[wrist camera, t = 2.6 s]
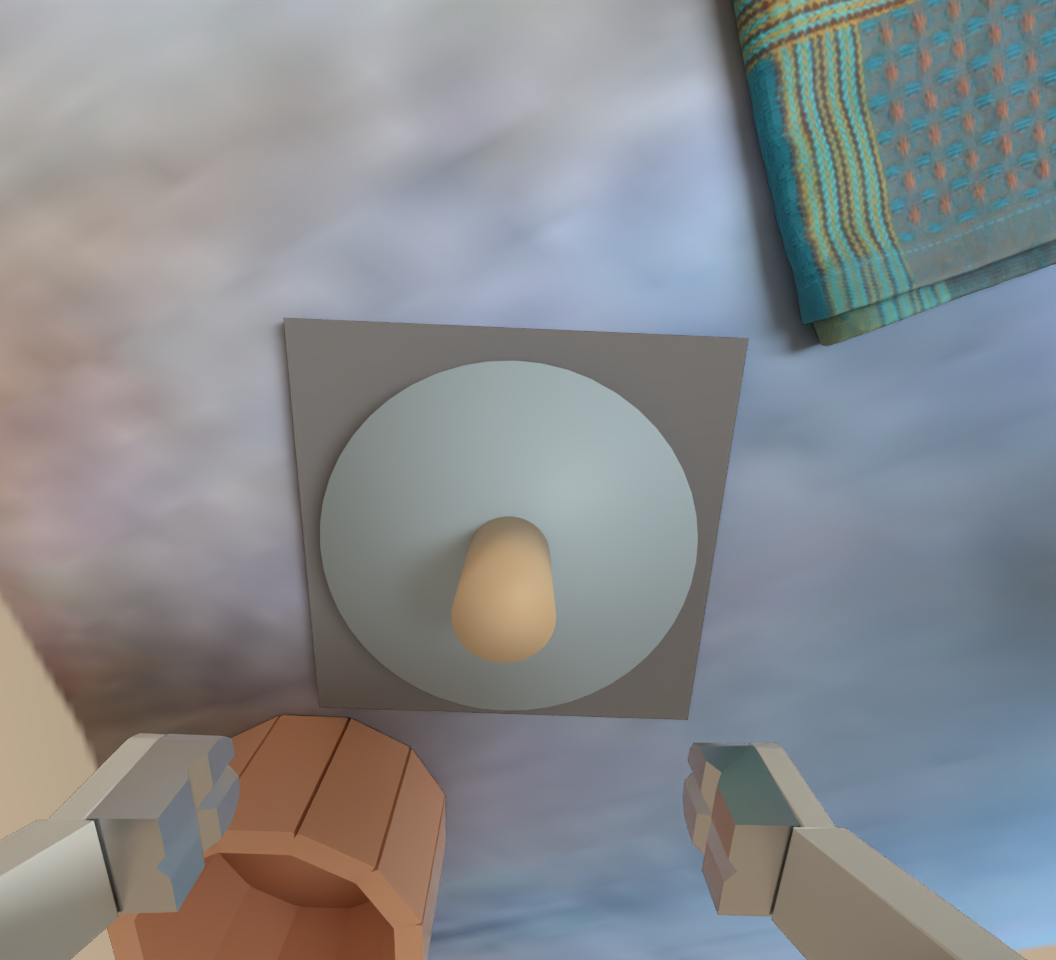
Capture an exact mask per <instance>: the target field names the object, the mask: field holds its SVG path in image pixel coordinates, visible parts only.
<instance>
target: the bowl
mask: <svg viewBox="0 0 1056 960" xmlns="http://www.w3.org/2000/svg"><path fill="white" fill-rule="evenodd" d="M232 741H233V746H234V751H235V755H234V756H233V758H232V759H231V761H230V762H229V764H228V765H229V766H230V767H231V768H232V769H233V770H234V771H235V772H236V773H237V774H238V777H239V784H240V790H239V800H238V804H237V807H236V810H235V813H234V816H233V819H232V821H231V823H230V825H229V827H228V828H227V830H226V832H225V834H224V835H223V837H222V839H220V840H219V841H218V842H216V843H215V844H214V845H213V846H211V847H210V848H209V849H207V850H206V851H205V852H204V862H205V867H204V869H203V871H202V872H201V874H200V875H199V877H198V879H197V880H196V882H195V884H194V885H193V887H192V889H191V890H190V892H189V894H188V895H187V897H186V899H185V900H184V902H183V904H182V905H181V907H180V909H179V910H178V912H165V913H131V914H118V918H117V919H116V920H115V921H114V922H113V923H112V924H111V925H109V926H108V927H107V930H108V934H109V937H110V941H111V945H112V948H113V952H114V955H115V959H116V960H427V957H428V951H429V945H430V939H431V933H432V927H433V920H434V914H435V908H436V902H437V896H438V889H439V883H440V877H441V871H442V865H443V859H444V852H445V846H446V796H445V793H444V792H443V791H442V789H441V788H440V787H439V785H438V784H437V782H436V781H435V780H434V778H433V777H432V776H431V774H430V773H429V771H428V770H427V769H426V767H425V766H424V765H423V763H422V762H421V760H420V759H419V758H418V756H417V755H416V754H415V752H414V751H413V749H411V750H409V748H410V747H409V746H407V745H405V744H403V743H401V742H399V741H397V740H395V739H392V738H390V737H388V736H386V735H384V734H382V733H380V732H378V731H376V730H374V729H372V728H370V727H368V726H366V725H364V724H362V723H360V722H358V721H356V720H354V719H352V718H351V720H350V721H349V723H348V717H320V716H291V715H281V717H279V716H277V717H275V718H273V719H270V720H268V721H266V722H264V723H262V724H260V725H258V726H256V727H253V728H251V729H249V730H247V731H245V732H243V733H241V734H238V735H236V736H234V737H232Z"/></svg>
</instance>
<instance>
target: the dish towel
mask: <svg viewBox="0 0 1056 960" xmlns="http://www.w3.org/2000/svg"><path fill="white" fill-rule="evenodd" d="M733 5H734V11H735V17H736V23H737V29H738V35H739V41H740V46H741V51H742V55H743V60H744V65H745V70H746V76H747V82H748V85H749V89H750V95H751V102H752V106H753V119H754V123H755V127H756V131H757V136H758V141H759V145H760V152H761V155H762V158H763V161H764V164H765V168H766V171H767V175H768V186H769V188H770V191H771V194H772V197H773V201H774V205H775V217H776V220H777V223H778V226H779V229H780V232H781V235H782V239H783V248H784V250H785V252H786V255H787V257H788V260H789V262H790V264H791V267H792V269H793V278H794V281H795V283H796V290H797V296H798V302H799V308H800V314H801V320H802V323H803V324H804V325H805V324H808V323H811V322H812V323H813V324H814V326H815V329H816V332H817V335H818V338H819V341H820V343H821V345H823V346H828V345H832V344H836V343H839V342H843V341H845V340H848V339H850V338H853V337H856V336H859V335H862V334H865V333H867V332H870V331H873V330H876V329H878V328H881V327H883V326H886V325H889V324H892V323H894V322H897V321H899V320H902V319H904V318H907V317H909V316H912V315H915V314H917V313H920V312H922V311H925V310H928V309H931V308H933V307H935V306H938V305H941V304H943V303H946V302H949V301H951V300H954V299H957V298H959V297H962V296H965V295H967V294H970V293H973V292H976V291H979V290H982V289H985V288H988V287H991V286H994V285H996V284H999V283H1001V282H1004V281H1007V280H1010V279H1013V278H1015V277H1019V276H1022V275H1025V274H1028V273H1030V272H1033V271H1036V270H1038V269H1041V268H1044V267H1047V266H1049V265H1052V264H1056V0H733Z"/></svg>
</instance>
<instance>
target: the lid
mask: <svg viewBox="0 0 1056 960" xmlns="http://www.w3.org/2000/svg"><path fill="white" fill-rule="evenodd" d="M697 545H698V532H697V516H696V511H695V506H694V502H693V497H692V492H691V490H690V487H689V484H688V481H687V479H686V476H685V473H684V471H683V469H682V467H681V465H680V463H679V461H678V459H677V457H676V456H675V454H674V452H673V450H672V448H671V447H670V446H669V444H668V443H667V442H666V440H665V439H664V437H663V436H662V435H661V433H660V432H659V431H658V429H657V428H656V427H655V426H654V425H653V424H652V423H651V422H650V421H649V420H648V419H647V418H646V417H645V416H644V415H643V414H642V413H641V412H640V411H639V410H638V409H637V408H635V407H634V406H633V405H631V404H630V403H629V402H628V401H626V400H625V399H624V398H622V397H621V396H620V395H618V394H617V393H615V392H614V391H612V390H610V389H608V388H607V387H605V386H603V385H601V384H600V383H598V382H596V381H594V380H592V379H591V378H588V377H586V376H583V375H581V374H578V373H576V372H573V371H571V370H568V369H565V368H561V367H557V366H553V365H549V364H545V363H539V362H530V361H521V360H495V361H485V362H479V363H473V364H466V365H462V366H459V367H456V368H453V369H449V370H446V371H443V372H440V373H437V374H434V375H432V376H430V377H428V378H426V379H424V380H421V381H419V382H417V383H415V384H413V385H411V386H409V387H408V388H406V389H404V390H403V391H401V392H400V393H398V394H397V395H395V396H394V397H392V398H390V399H389V400H388V401H387V402H385V403H384V404H383V405H382V406H381V407H380V408H379V409H377V410H376V411H375V412H374V413H373V414H372V415H370V416H369V417H368V419H367V420H366V421H365V422H364V423H363V424H362V425H361V427H360V428H359V429H358V430H357V431H356V432H355V434H354V435H353V436H352V438H351V439H350V441H349V442H348V444H347V445H346V447H345V448H344V450H343V452H342V453H341V455H340V456H339V459H338V461H337V463H336V465H335V467H334V470H333V472H332V474H331V476H330V479H329V482H328V486H327V489H326V493H325V496H324V500H323V505H322V513H321V520H320V549H321V556H322V562H323V569H324V573H325V576H326V579H327V583H328V586H329V589H330V592H331V594H332V597H333V599H334V601H335V603H336V606H337V608H338V610H339V612H340V614H341V615H342V617H343V619H344V620H345V622H346V623H347V625H348V627H349V628H350V630H351V631H352V633H353V634H354V635H355V636H356V637H357V639H358V640H359V641H360V642H361V644H362V645H363V646H364V647H365V648H366V649H367V650H368V651H369V652H370V653H371V654H372V655H373V656H374V657H375V658H376V659H377V660H378V661H379V662H380V663H381V664H382V665H384V666H385V667H386V668H388V669H389V670H390V671H392V672H393V673H394V674H396V675H397V676H398V677H400V678H401V679H403V680H405V681H407V682H408V683H410V684H412V685H413V686H415V687H417V688H418V689H421V690H423V691H425V692H427V693H430V694H432V695H434V696H436V697H439V698H442V699H445V700H448V701H451V702H455V703H458V704H461V705H466V706H471V707H476V708H481V709H492V710H530V709H538V708H546V707H551V706H555V705H559V704H563V703H567V702H571V701H573V700H576V699H579V698H582V697H584V696H587V695H590V694H592V693H594V692H596V691H598V690H600V689H602V688H604V687H606V686H608V685H610V684H611V683H613V682H615V681H616V680H618V679H619V678H621V677H622V676H624V675H625V674H627V673H628V672H629V671H631V670H632V669H633V668H634V667H635V666H637V665H638V664H639V663H640V662H641V661H643V660H644V659H645V658H646V657H647V656H648V655H649V654H650V653H651V651H652V650H653V649H654V648H655V647H656V646H657V645H658V644H659V643H660V642H661V640H662V639H663V637H664V636H665V635H666V633H667V632H668V630H669V629H670V628H671V626H672V625H673V623H674V621H675V620H676V618H677V616H678V614H679V612H680V610H681V608H682V606H683V605H684V602H685V599H686V596H687V594H688V591H689V588H690V586H691V583H692V578H693V574H694V569H695V565H696V557H697Z"/></svg>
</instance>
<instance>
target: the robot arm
mask: <svg viewBox="0 0 1056 960" xmlns="http://www.w3.org/2000/svg"><path fill="white" fill-rule="evenodd" d="M234 755H235V751H234V746H233V741H232V738H229V737H226V736H214V735H190V734H150V733H139V734H137V735H134V736H132V737H130V738H128V739H127V740H126V741H125V742H124V743H123V744H122V745H121V746H120V747H119V748H118V749H117V750H116V751H115V752H114V753H113V754H112V755H111V756H110V757H109V758H108V759H107V760H106V761H105V762H104V763H103V764H102V765H101V766H100V767H99V768H98V769H97V770H96V771H95V772H94V773H93V774H92V775H91V777H89V779H87V780H86V781H85V782H84V783H83V784H82V786H80V787H79V788H78V790H77V791H75V792H74V794H73V795H72V796H71V797H70V798H69V799H68V800H67V801H66V802H65V803H64V804H63V805H62V806H61V807H60V808H59V809H58V810H57V811H56V812H55V813H54V814H53V815H52V816H51V817H50V818H49V819H48V820H36V821H34V822H32V823H30V824H29V825H27V826H25V827H23V828H21V829H20V830H18V831H16V832H14V833H13V834H11V835H9V836H7V837H6V838H3V839H1V840H0V960H70V959H71V958H73V957H74V956H75V955H76V954H77V953H78V952H80V951H81V950H82V949H83V948H84V947H85V946H86V945H87V944H88V943H90V942H91V941H92V940H93V939H94V938H95V937H97V936H98V935H99V934H100V933H101V932H102V931H104V930H105V929H106V928H107V927H108V926H109V925H111V924H112V923H113V922H114V921H115V920H116V919H117V918H118V914H131V913H165V912H178V910H179V909H180V907H181V905H182V904H183V902H184V900H185V899H186V897H187V895H188V894H189V892H190V890H191V889H192V887H193V885H194V884H195V882H196V880H197V879H198V877H199V875H200V874H201V872H202V871H203V869H204V867H205V862H204V852H205V851H206V850H207V849H209V848H210V847H211V846H213V845H214V844H215V843H216V842H218V841H219V840H220V839H222V837H223V835H224V834H225V832H226V830H227V828H228V827H229V825H230V823H231V821H232V819H233V816H234V813H235V810H236V807H237V804H238V800H239V790H240V784H239V777H238V774H237V773H236V772H235V771H234V770H233V769H232V768H231V767H230V766H229V765H228V764H229V762H230V761H231V759H232V758H233V756H234ZM688 762H689V765H690V767H691V770H692V772H693V773H692V774H691V775H690V776H689V777H688V778H687V779H686V780H685V782H684V790H683V805H684V815H685V820H686V824H687V828H688V831H689V834H690V837H691V840H692V843H693V844H694V845H695V846H696V847H697V848H698V849H699V850H700V851H701V852H702V853H703V854H704V861H703V867H702V872H703V874H704V877H705V880H706V883H707V886H708V888H709V891H710V894H711V897H712V899H713V902H714V905H715V908H716V911H717V913H718V915H744V916H771V917H772V921H773V922H774V923H775V924H776V925H777V927H778V928H779V929H780V930H781V931H782V932H783V933H784V935H785V936H786V937H787V938H788V939H789V940H790V941H791V943H792V944H793V945H794V946H795V947H796V948H797V949H798V950H799V952H800V953H801V954H802V955H803V956H804V957H805V958H806V960H1027V959H1025V958H1024V957H1022V956H1021V955H1020V954H1018V953H1017V952H1016V951H1014V950H1013V949H1011V948H1010V947H1009V946H1007V945H1006V944H1005V943H1003V942H1002V941H1000V940H999V939H998V938H996V937H995V936H994V935H992V934H991V933H989V932H988V931H987V930H985V929H984V928H983V927H981V926H980V925H978V924H977V923H976V922H974V921H973V920H971V919H970V918H969V917H967V916H966V915H965V914H963V913H962V912H960V911H959V910H958V909H956V908H955V907H954V906H952V905H951V904H949V903H948V902H947V901H945V900H944V899H943V898H941V897H940V896H938V895H937V894H936V893H934V892H933V891H932V890H930V889H929V888H927V887H926V886H925V885H923V884H922V883H921V882H919V881H918V880H916V879H915V878H914V877H912V876H911V875H909V874H908V873H907V872H905V871H904V870H903V869H901V868H900V867H898V866H897V865H896V864H894V863H893V862H892V861H890V860H889V859H887V858H886V857H885V856H883V855H882V854H881V853H879V852H878V851H876V850H875V849H874V848H872V847H871V846H869V845H868V844H867V843H865V842H864V841H863V840H861V839H860V838H858V837H857V836H856V835H854V834H853V833H852V832H850V831H849V830H847V829H846V828H836V827H835V825H834V824H833V822H832V821H831V819H830V818H829V816H828V815H827V813H826V812H825V810H824V809H823V807H822V806H821V804H820V803H819V801H818V800H817V798H816V797H815V795H814V794H813V792H812V791H811V789H810V788H809V786H808V785H807V783H806V782H805V780H804V779H803V777H802V776H801V774H800V773H799V771H798V770H797V768H796V767H795V765H794V764H793V762H792V761H791V759H790V758H789V756H788V755H787V753H786V752H785V750H784V749H783V747H781V746H780V745H779V744H777V743H748V744H747V743H693V744H692V746H691V748H690V750H689V756H688Z"/></svg>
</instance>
